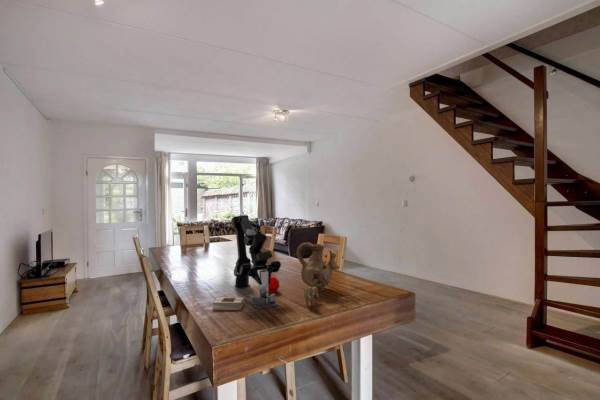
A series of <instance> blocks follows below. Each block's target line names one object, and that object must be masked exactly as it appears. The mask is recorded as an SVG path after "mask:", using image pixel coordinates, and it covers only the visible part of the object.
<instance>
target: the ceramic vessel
mask: <svg viewBox="0 0 600 400" xmlns="http://www.w3.org/2000/svg"><path fill="white" fill-rule="evenodd" d="M324 247H325V245H324V244H319V243H314V244H313V243H312V242H309V241H307V242H302V243H300V245H299V246H298V247H297V249H296V257H297V260H298V261H299V263H300V264H301V265H302V267H301V269H300V276H301V279H302V282H303V283H304V284H305V285H307V287H309V286H310V287H316V288H317V289H318V291H319V292H322V291H324V290H325V289H326V288H325V287H326V286H327V285H329V284H330V283H331V281H332V277H333V271H335V270H338V269H340V266H339V265H338V264H337V263H336V261H335V259H336V257H337V254H336V253H333V251H331V250H329V251H328V252H329V261H328V262H327V263H325V262H324V260H323V252H324ZM305 248H309V249H310V250H311V255H309V259H308V262H307V261H305V259H304V258H303V256H302V252H303V249H305Z"/></svg>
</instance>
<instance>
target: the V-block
mask: <svg viewBox="0 0 600 400" xmlns="http://www.w3.org/2000/svg"><path fill="white" fill-rule="evenodd" d="M249 303H250V304H251V306H253V307H254V308H255V309H256V310H258V309H259V310H260V309H265V308H272V306H273V307H278V306H279V302H277V301H276V293H270V295H269V296H268V297H267V299H266V297H260V296H255V295H253V296H252V299H251V300H249Z"/></svg>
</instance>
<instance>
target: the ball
mask: <svg viewBox="0 0 600 400" xmlns="http://www.w3.org/2000/svg"><path fill="white" fill-rule="evenodd" d="M279 289H280V280H279V279H278V278H277V277H276V276H274V275H271V280H270V284H269V294H276V292H278V290H279Z"/></svg>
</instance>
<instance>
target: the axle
mask: <svg viewBox="0 0 600 400" xmlns="http://www.w3.org/2000/svg"><path fill="white" fill-rule="evenodd" d="M259 278H260V281H261V285H259V297H266V299H267V297H268V296H270V295H269V294H270V293H269V271H267V270H259Z"/></svg>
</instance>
